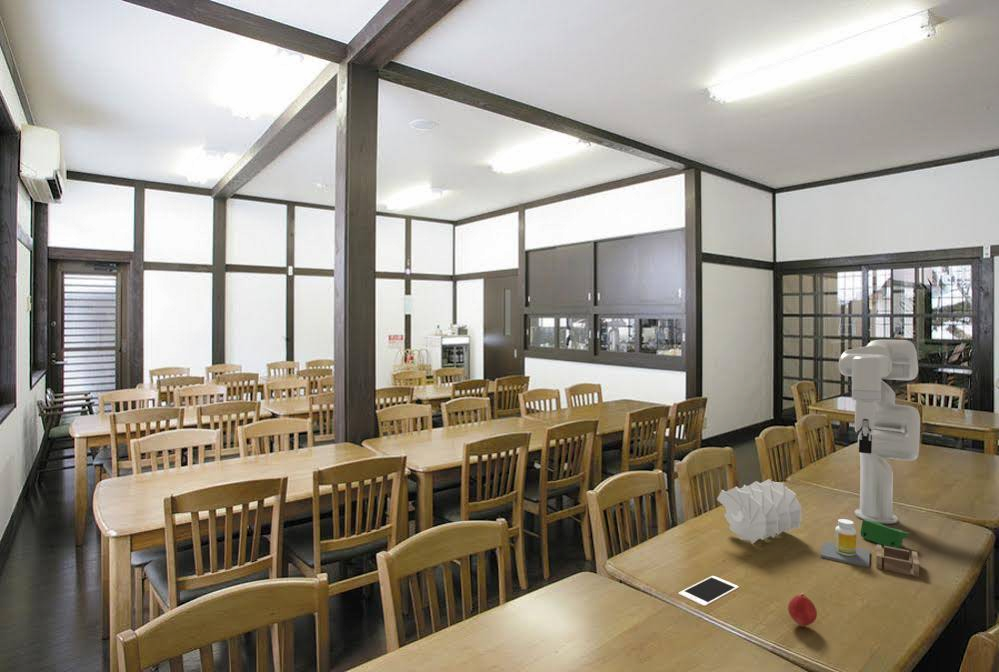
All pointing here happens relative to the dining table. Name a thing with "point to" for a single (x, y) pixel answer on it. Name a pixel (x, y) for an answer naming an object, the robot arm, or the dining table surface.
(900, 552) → the frame
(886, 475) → the robot arm
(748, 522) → the white origami shape
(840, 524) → the supplement bottle
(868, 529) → the clamp
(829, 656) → the dining table surface
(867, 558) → the rubber mat
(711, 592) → the cell phone
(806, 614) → the onion
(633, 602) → the dining table surface
